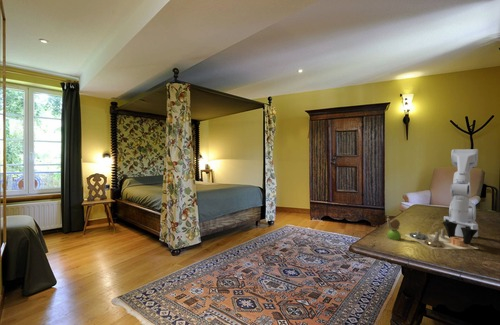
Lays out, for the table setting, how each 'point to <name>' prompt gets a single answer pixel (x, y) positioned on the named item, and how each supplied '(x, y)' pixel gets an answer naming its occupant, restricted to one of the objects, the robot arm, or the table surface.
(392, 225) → the snail figurine
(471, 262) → the table surface
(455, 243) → the idler gear
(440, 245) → the gear
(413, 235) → the gear
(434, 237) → the gear board
